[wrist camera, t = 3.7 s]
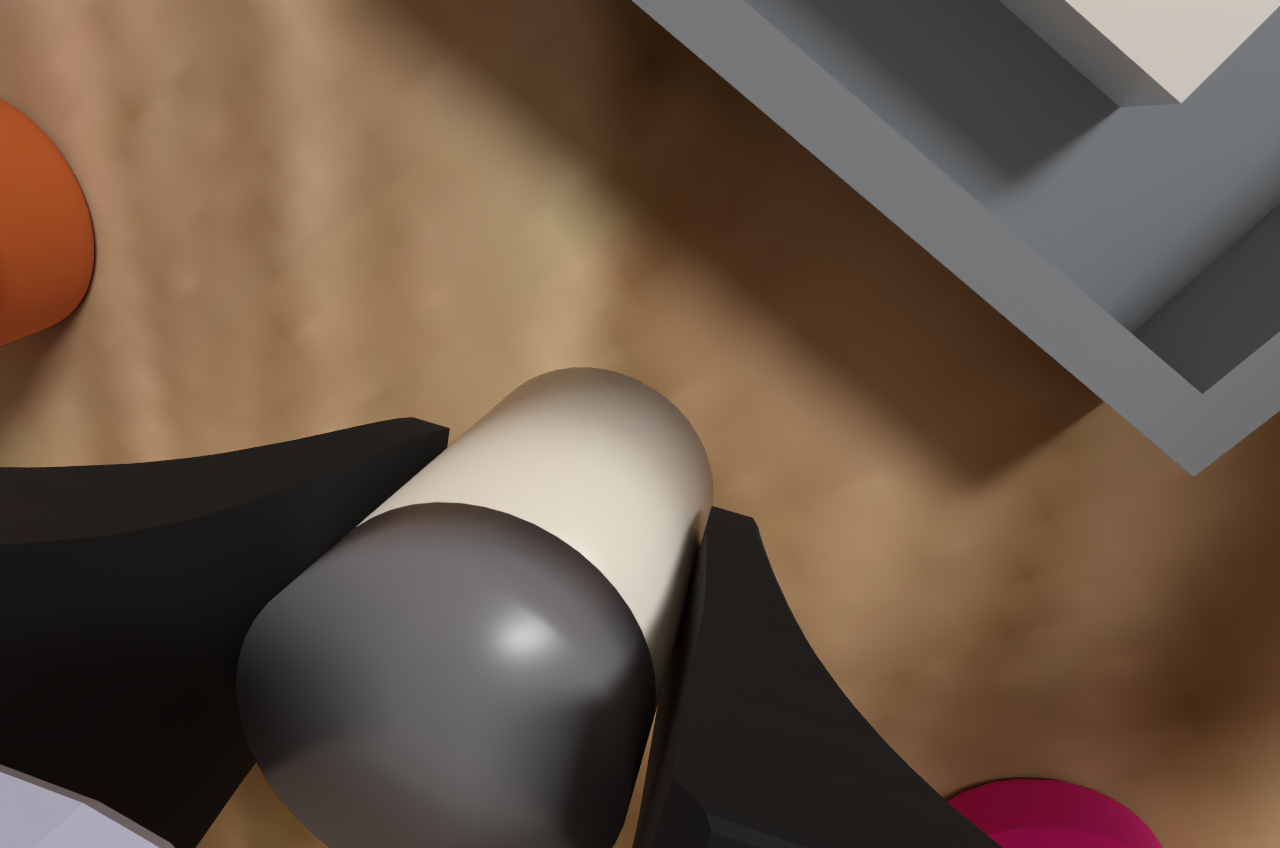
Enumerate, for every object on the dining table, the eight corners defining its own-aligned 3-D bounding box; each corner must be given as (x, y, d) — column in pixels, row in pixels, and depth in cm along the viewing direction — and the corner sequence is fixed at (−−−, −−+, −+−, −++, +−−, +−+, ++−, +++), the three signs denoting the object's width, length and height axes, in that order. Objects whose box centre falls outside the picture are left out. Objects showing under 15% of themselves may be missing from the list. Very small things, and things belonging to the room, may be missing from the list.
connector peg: (765, 478, 12) (721, 763, 7) (616, 630, 14) (482, 962, 8) (564, 316, 12) (350, 474, 7) (435, 489, 14) (178, 735, 8)
